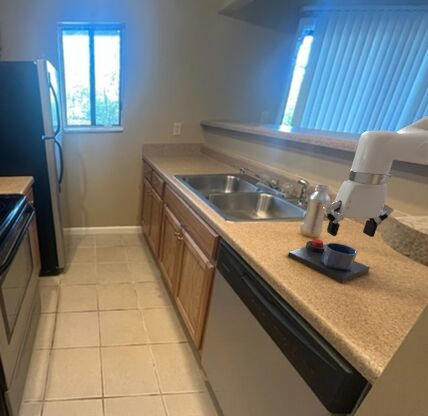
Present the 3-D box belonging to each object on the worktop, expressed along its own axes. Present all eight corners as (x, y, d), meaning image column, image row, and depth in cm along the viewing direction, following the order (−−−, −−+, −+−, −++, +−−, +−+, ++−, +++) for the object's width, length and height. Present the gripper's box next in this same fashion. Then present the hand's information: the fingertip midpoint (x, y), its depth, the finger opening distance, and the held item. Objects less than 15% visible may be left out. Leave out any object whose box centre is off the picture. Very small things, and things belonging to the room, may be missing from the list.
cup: (356, 267, 82) (362, 251, 80) (341, 273, 80) (347, 256, 78) (329, 256, 88) (335, 241, 86) (315, 261, 86) (320, 245, 84)
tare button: (324, 246, 92) (325, 242, 91) (318, 248, 91) (320, 243, 90) (315, 243, 94) (316, 238, 94) (309, 244, 93) (311, 240, 93)
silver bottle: (320, 241, 102) (335, 189, 95) (298, 236, 106) (311, 186, 99) (320, 234, 107) (335, 185, 99) (299, 230, 111) (312, 182, 103)
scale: (367, 272, 83) (371, 262, 82) (341, 283, 78) (345, 273, 77) (311, 248, 97) (313, 239, 96) (286, 256, 92) (288, 247, 91)
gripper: (391, 174, 77) (372, 229, 83) (323, 174, 79) (310, 228, 85) (416, 181, 70) (393, 241, 76) (341, 181, 72) (325, 239, 78)
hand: (349, 234), depth 80 cm, fingers open, 9 cm apart
